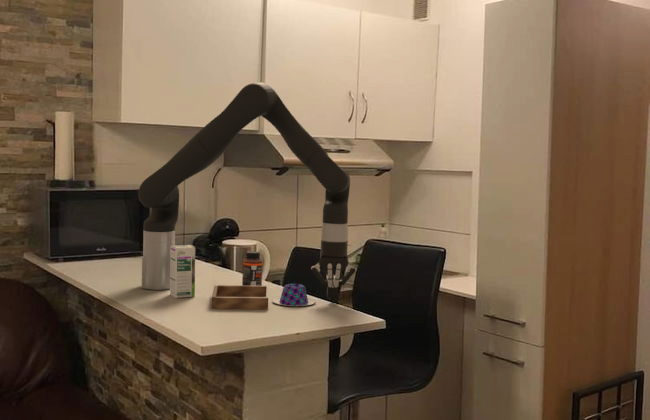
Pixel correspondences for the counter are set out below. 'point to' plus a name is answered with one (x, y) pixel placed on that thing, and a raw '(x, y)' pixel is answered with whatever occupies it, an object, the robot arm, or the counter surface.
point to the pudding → (294, 296)
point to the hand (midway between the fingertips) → (332, 299)
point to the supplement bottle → (252, 269)
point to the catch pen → (248, 298)
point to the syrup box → (182, 271)
